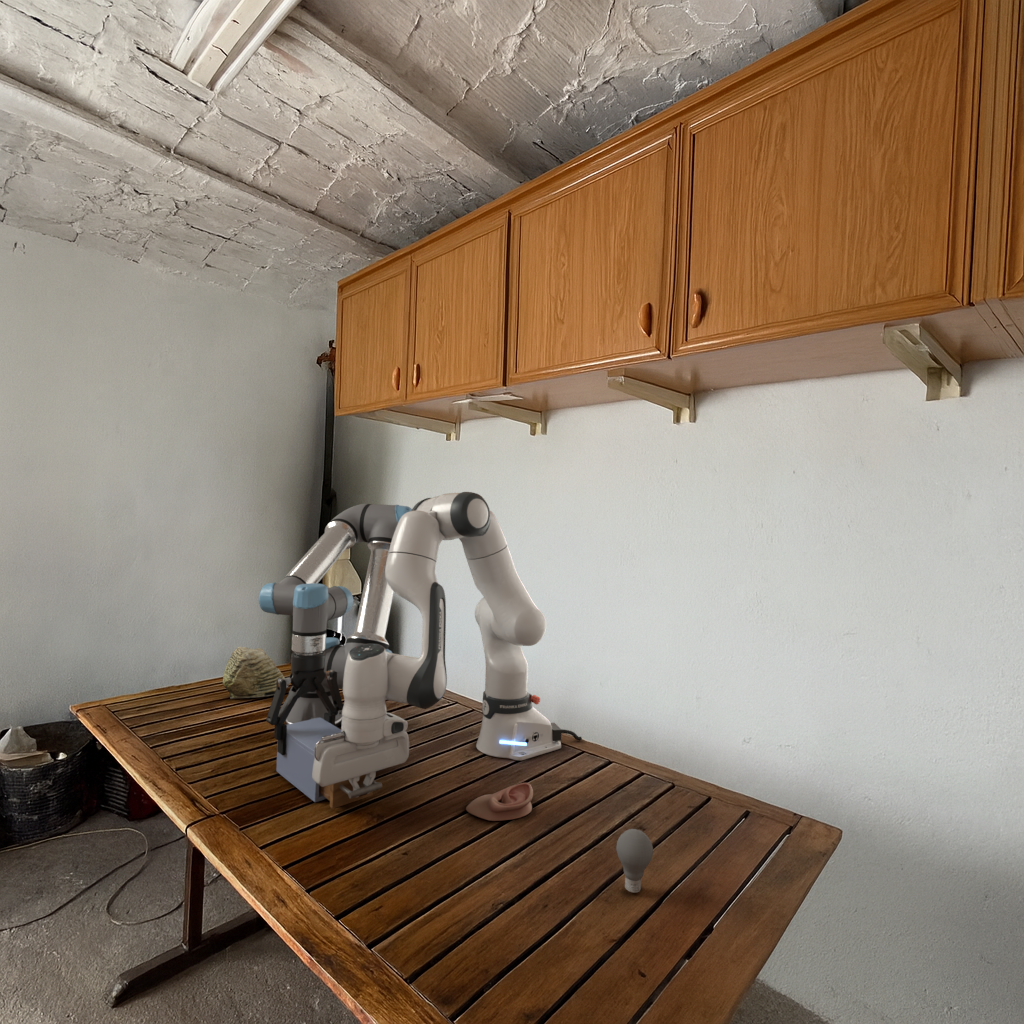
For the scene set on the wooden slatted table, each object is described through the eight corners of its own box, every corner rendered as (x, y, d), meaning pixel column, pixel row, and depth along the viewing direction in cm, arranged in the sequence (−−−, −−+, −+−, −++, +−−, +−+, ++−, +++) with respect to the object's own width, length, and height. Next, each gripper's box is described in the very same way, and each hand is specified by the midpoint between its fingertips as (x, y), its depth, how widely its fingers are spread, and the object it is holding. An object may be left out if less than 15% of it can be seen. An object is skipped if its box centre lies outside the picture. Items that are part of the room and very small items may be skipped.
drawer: (386, 804, 130) (387, 763, 129) (345, 819, 123) (347, 776, 123) (331, 767, 146) (332, 730, 146) (293, 778, 140) (294, 739, 140)
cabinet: (359, 788, 138) (361, 741, 138) (314, 802, 131) (316, 753, 131) (318, 759, 152) (320, 717, 152) (276, 771, 145) (277, 726, 145)
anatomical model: (462, 797, 127) (476, 773, 139) (461, 816, 128) (476, 791, 139) (527, 806, 125) (536, 781, 136) (526, 826, 125) (535, 800, 136)
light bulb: (610, 879, 108) (613, 822, 108) (644, 879, 109) (647, 822, 109) (619, 902, 102) (622, 840, 102) (655, 901, 103) (658, 840, 103)
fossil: (218, 695, 195) (220, 647, 195) (278, 685, 208) (279, 640, 207) (228, 703, 189) (230, 653, 188) (289, 692, 201) (290, 645, 201)
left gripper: (266, 662, 135) (262, 765, 135) (361, 648, 151) (357, 740, 151) (252, 655, 140) (248, 754, 141) (345, 642, 156) (341, 731, 157)
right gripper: (322, 743, 118) (320, 816, 119) (414, 720, 132) (411, 786, 132) (307, 733, 123) (305, 803, 123) (397, 712, 137) (395, 775, 137)
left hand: (304, 747), depth 146 cm, fingers closed on cabinet, 10 cm apart
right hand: (361, 794), depth 128 cm, fingers closed, pressing on drawer
